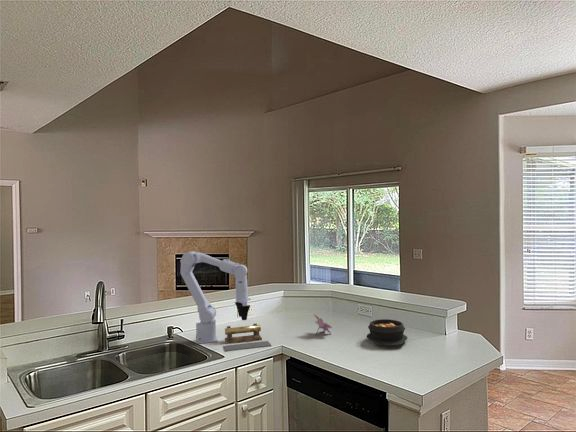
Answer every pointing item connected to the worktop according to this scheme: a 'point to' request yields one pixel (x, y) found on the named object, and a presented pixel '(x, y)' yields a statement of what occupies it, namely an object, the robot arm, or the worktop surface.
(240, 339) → the hook stand
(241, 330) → the rail
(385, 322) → the casserole
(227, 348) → the mat
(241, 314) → the robot arm
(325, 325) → the lily
